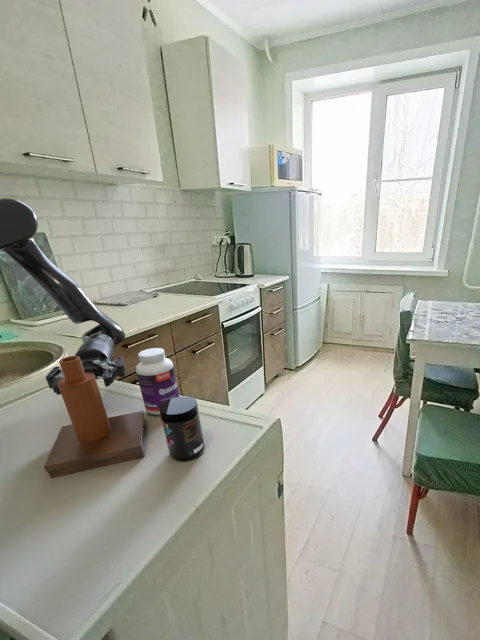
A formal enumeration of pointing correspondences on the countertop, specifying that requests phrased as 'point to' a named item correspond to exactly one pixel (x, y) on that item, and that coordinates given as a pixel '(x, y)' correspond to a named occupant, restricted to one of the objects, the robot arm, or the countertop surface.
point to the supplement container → (182, 427)
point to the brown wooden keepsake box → (97, 446)
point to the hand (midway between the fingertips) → (82, 386)
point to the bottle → (83, 401)
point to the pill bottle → (156, 379)
